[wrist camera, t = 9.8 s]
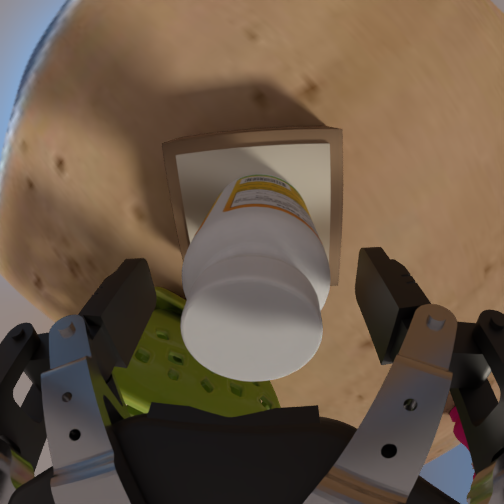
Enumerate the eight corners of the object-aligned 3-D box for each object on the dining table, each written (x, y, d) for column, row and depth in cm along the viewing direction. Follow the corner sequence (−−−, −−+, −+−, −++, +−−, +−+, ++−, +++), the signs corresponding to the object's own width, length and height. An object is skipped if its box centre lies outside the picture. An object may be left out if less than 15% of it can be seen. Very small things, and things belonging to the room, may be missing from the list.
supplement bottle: (248, 275, 18) (231, 410, 9) (194, 206, 16) (119, 311, 7) (324, 231, 16) (374, 354, 8) (273, 153, 15) (283, 206, 6)
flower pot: (288, 333, 26) (297, 459, 15) (215, 397, 31) (202, 490, 20) (152, 257, 23) (80, 375, 11) (110, 345, 28) (66, 436, 17)
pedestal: (181, 137, 18) (160, 144, 14) (326, 126, 18) (343, 129, 14) (201, 264, 23) (189, 295, 19) (327, 257, 22) (338, 287, 18)
